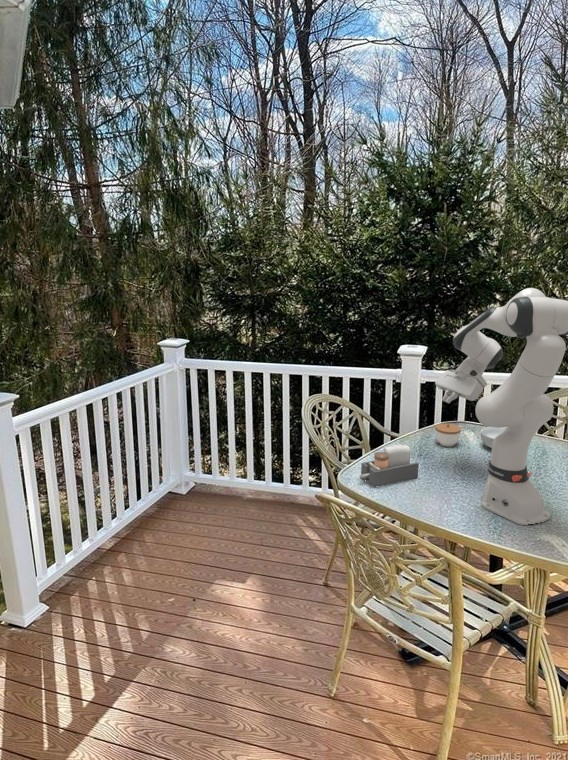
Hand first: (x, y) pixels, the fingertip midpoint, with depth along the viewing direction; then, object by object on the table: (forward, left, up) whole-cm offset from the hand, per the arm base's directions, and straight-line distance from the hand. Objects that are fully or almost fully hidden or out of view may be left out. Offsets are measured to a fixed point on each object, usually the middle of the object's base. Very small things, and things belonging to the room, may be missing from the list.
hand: (445, 401), depth 205 cm
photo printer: (+1, +21, -27) cm, 34 cm away
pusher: (0, +34, -27) cm, 43 cm away
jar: (0, +28, -27) cm, 39 cm away
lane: (0, +23, -27) cm, 36 cm away
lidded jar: (+18, -19, -27) cm, 38 cm away
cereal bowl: (+5, -37, -27) cm, 46 cm away
